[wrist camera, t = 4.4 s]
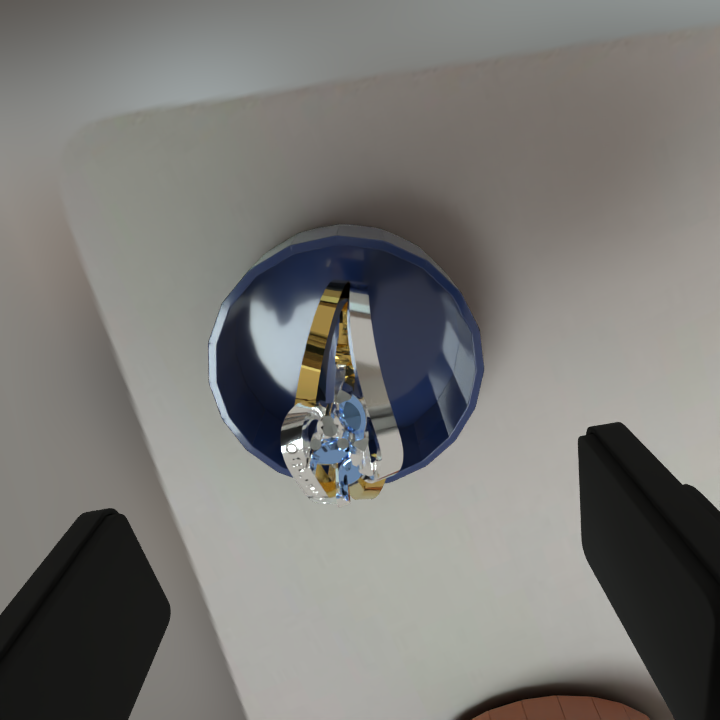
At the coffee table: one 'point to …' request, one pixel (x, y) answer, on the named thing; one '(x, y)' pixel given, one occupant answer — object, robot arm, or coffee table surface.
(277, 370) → the blue round dish
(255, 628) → the coffee table surface
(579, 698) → the bowl
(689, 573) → the robot arm
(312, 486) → the ring
